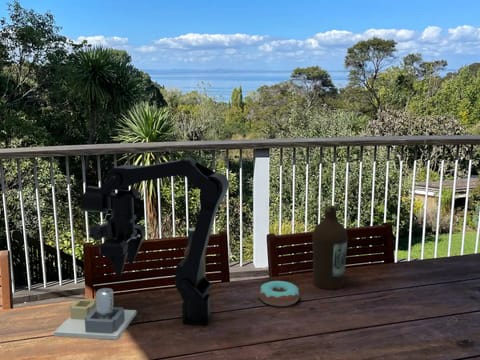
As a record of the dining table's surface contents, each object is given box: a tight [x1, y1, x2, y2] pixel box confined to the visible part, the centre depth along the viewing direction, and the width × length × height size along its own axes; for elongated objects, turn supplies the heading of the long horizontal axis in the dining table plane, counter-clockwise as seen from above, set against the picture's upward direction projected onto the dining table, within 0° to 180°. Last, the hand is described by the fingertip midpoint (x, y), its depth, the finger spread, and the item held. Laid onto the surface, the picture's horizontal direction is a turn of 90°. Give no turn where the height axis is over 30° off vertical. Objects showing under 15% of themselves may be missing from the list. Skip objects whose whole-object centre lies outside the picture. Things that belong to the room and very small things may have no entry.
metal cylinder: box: [95, 287, 114, 320], centre depth 118 cm, size 4×4×9 cm
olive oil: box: [311, 204, 348, 291], centre depth 145 cm, size 11×11×25 cm
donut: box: [258, 280, 301, 307], centre depth 136 cm, size 12×12×4 cm
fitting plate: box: [53, 298, 137, 341], centre depth 121 cm, size 16×14×4 cm
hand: (125, 269), depth 126 cm, fingers open, 9 cm apart
